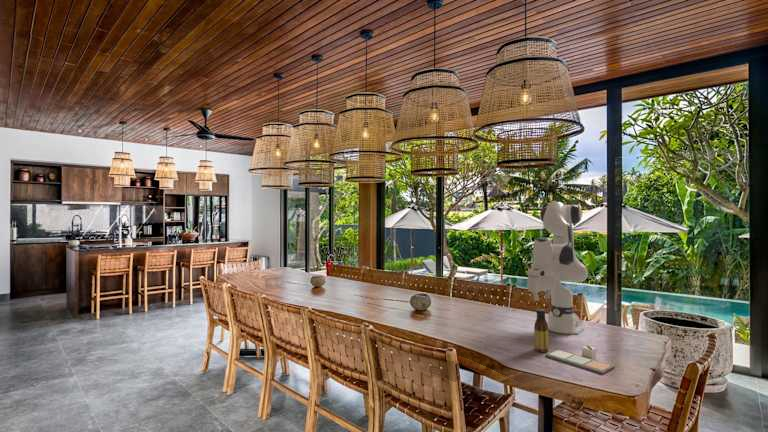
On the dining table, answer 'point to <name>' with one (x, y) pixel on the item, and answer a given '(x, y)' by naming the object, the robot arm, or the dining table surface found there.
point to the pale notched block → (589, 352)
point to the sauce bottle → (541, 332)
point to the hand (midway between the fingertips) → (541, 299)
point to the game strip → (580, 361)
